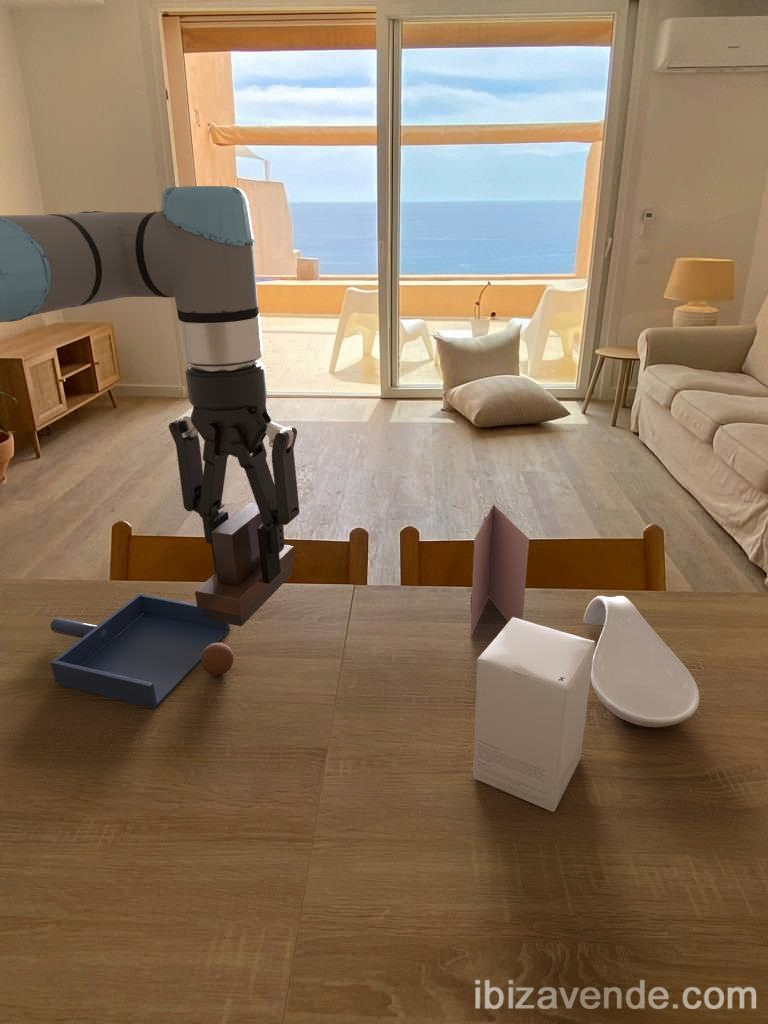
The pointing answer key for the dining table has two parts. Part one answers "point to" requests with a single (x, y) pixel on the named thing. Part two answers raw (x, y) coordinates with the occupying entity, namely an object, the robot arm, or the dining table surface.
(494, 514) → the greeting card
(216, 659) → the cork ball
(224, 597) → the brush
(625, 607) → the spoon rest
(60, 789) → the dining table surface
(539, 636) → the white product box
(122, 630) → the dustpan
